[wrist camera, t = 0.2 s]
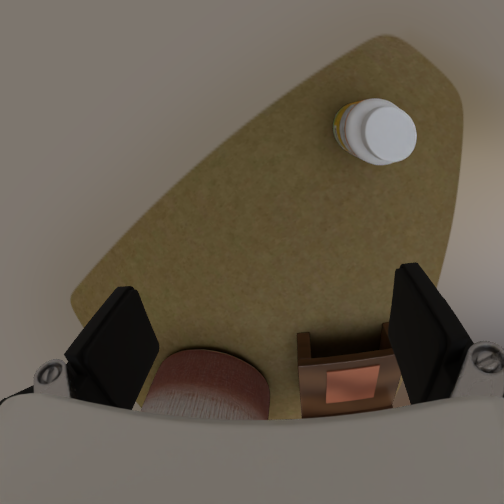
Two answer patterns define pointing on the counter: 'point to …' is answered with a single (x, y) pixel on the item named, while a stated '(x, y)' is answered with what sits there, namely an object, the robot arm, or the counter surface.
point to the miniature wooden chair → (347, 380)
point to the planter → (208, 387)
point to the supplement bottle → (375, 131)
